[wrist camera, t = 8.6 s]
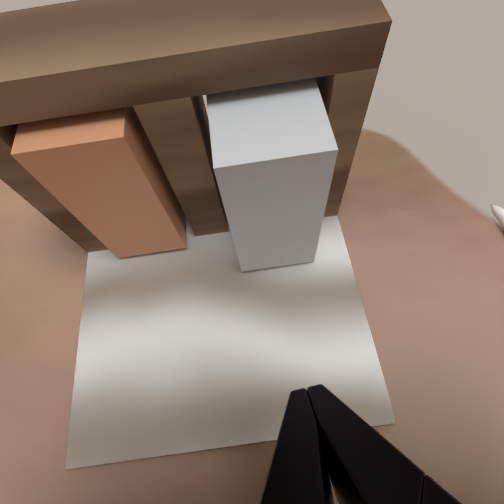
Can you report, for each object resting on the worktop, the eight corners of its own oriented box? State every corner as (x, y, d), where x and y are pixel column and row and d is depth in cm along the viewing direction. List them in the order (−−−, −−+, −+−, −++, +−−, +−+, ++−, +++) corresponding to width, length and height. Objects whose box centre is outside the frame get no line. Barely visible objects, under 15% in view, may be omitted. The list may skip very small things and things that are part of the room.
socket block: (393, 422, 15) (622, 438, 5) (70, 467, 15) (-340, 572, 5) (321, 168, 22) (356, -45, 12) (97, 202, 22) (-58, 22, 12)
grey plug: (314, 261, 18) (338, 149, 10) (241, 272, 18) (213, 168, 10) (294, 175, 21) (301, 36, 13) (231, 184, 21) (202, 52, 13)
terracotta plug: (186, 248, 19) (123, 136, 11) (117, 258, 19) (10, 154, 11) (183, 167, 22) (130, 34, 14) (123, 176, 22) (38, 49, 14)
